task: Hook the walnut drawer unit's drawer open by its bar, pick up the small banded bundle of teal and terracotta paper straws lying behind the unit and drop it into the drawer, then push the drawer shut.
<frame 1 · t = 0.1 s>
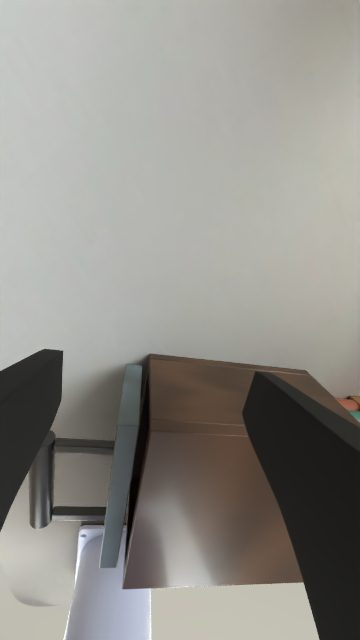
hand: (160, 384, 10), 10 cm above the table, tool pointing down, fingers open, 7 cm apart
drawer: (165, 463, 20), point 4 cm above the table, slide at 0.5 cm
cabinet: (213, 427, 24), on the table
straws: (351, 410, 25), on the table
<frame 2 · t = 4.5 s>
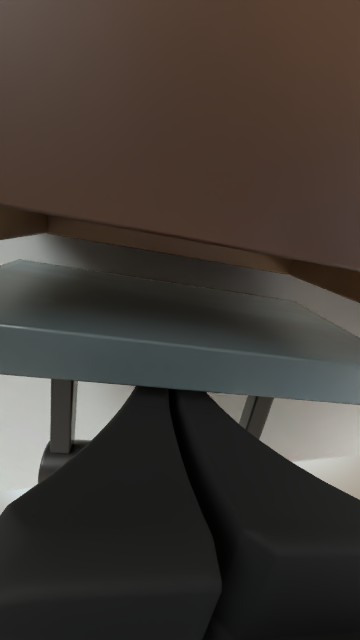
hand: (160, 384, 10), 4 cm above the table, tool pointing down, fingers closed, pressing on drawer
drawer: (191, 220, 8), point 4 cm above the table, slide at 2.2 cm, touching gripper
cabinet: (208, 31, 10), on the table
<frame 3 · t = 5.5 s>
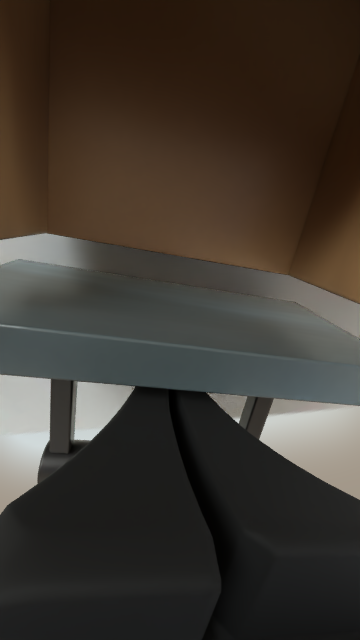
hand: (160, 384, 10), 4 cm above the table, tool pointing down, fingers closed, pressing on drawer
drawer: (191, 221, 8), point 4 cm above the table, slide at 6.6 cm, touching gripper
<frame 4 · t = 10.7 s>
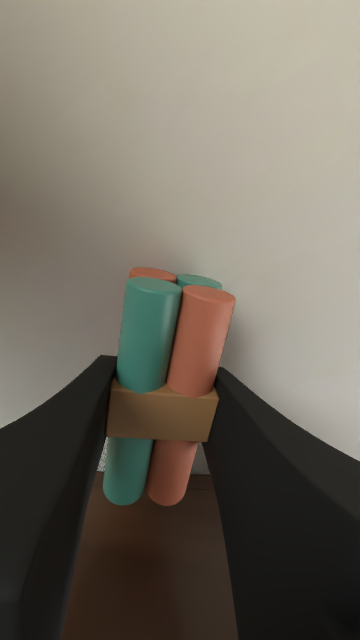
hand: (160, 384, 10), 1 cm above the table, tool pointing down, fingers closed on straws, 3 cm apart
cabinet: (175, 556, 16), on the table
straws: (158, 365, 11), on the table, touching gripper
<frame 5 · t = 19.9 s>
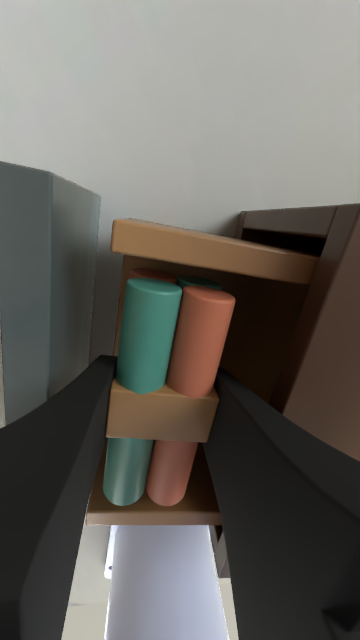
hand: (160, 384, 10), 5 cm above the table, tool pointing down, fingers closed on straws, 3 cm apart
drawer: (140, 362, 11), point 4 cm above the table, slide at 6.6 cm
cabinet: (314, 347, 17), on the table
straws: (158, 365, 11), point 4 cm above the table, touching gripper
when the fingers open (9 cm above the table, at t = 31.4 s): straws drops 5 cm, resting on drawer.
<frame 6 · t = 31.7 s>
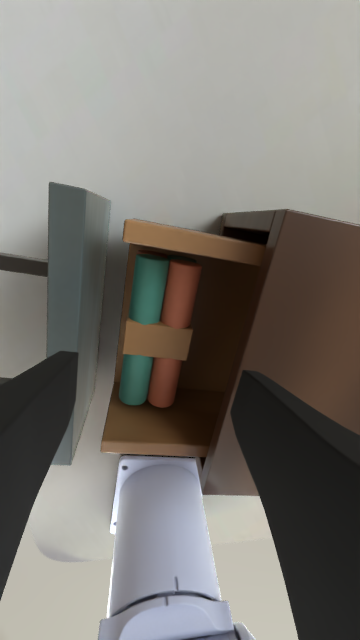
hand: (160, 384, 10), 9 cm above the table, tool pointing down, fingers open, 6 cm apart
drawer: (142, 331, 14), point 4 cm above the table, slide at 6.6 cm, touching straws
cabinet: (288, 327, 20), on the table
straws: (156, 319, 16), point 2 cm above the table, touching drawer
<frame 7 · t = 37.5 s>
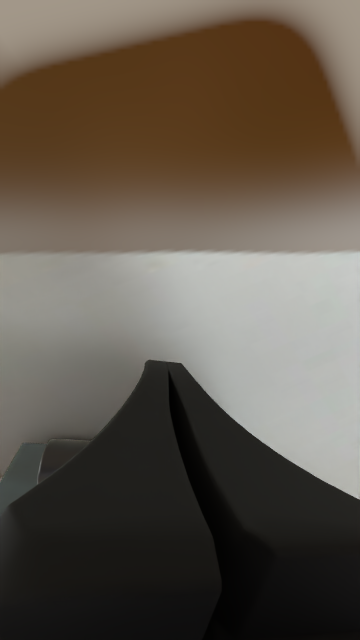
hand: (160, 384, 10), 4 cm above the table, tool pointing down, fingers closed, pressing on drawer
drawer: (129, 556, 13), point 4 cm above the table, slide at 3.5 cm, touching gripper, straws
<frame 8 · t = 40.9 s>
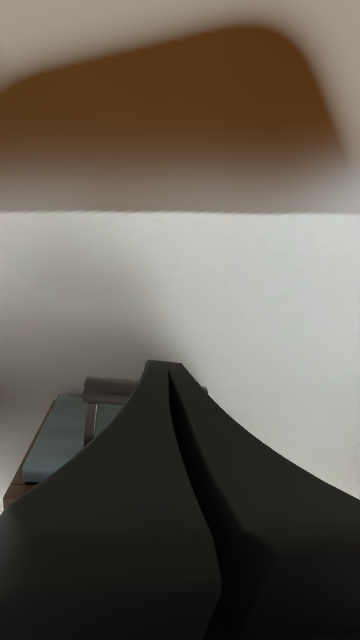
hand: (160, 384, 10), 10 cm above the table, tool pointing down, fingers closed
drawer: (132, 470, 20), point 4 cm above the table, slide at 0.0 cm, touching cabinet, straws
cabinet: (129, 465, 25), on the table
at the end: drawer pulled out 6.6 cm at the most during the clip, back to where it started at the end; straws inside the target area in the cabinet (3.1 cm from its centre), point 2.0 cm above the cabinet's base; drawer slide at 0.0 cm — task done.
